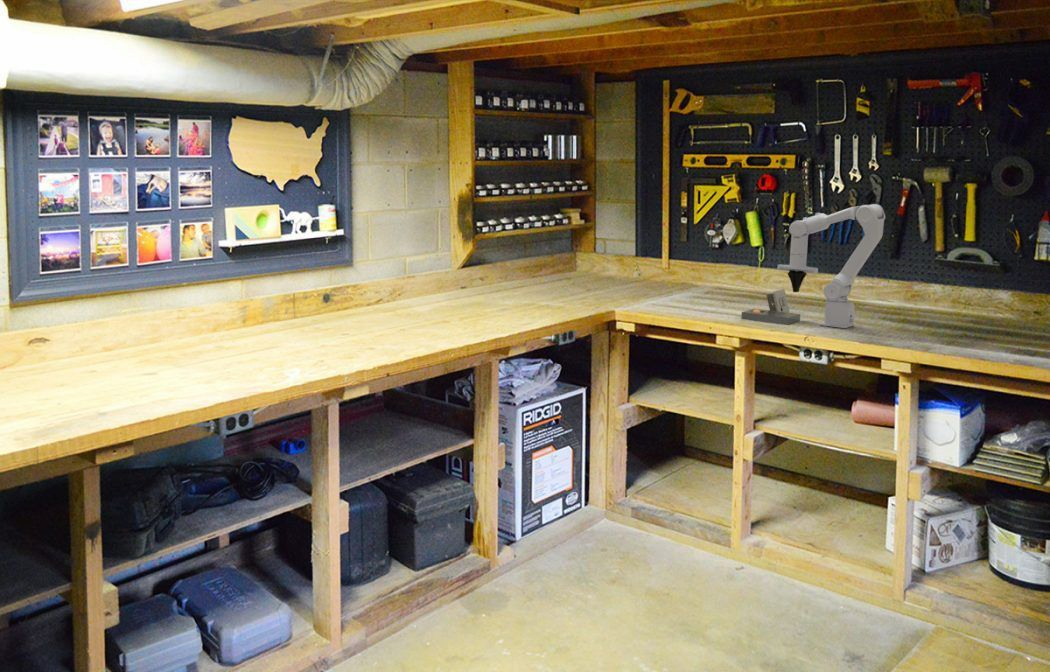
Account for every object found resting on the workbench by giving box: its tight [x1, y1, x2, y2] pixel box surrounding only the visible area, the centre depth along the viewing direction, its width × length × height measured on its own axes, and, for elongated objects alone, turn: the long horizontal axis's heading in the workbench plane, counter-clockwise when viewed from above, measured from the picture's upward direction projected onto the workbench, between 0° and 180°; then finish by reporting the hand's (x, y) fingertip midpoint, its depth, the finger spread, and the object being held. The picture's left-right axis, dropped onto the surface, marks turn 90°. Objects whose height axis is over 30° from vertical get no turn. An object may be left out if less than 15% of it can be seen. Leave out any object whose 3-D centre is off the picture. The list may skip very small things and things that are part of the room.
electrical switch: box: [766, 288, 790, 313], centre depth 357 cm, size 9×5×9 cm, turn 141°
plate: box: [740, 308, 801, 326], centre depth 344 cm, size 18×10×2 cm, turn 50°
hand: (795, 291), depth 342 cm, fingers closed
